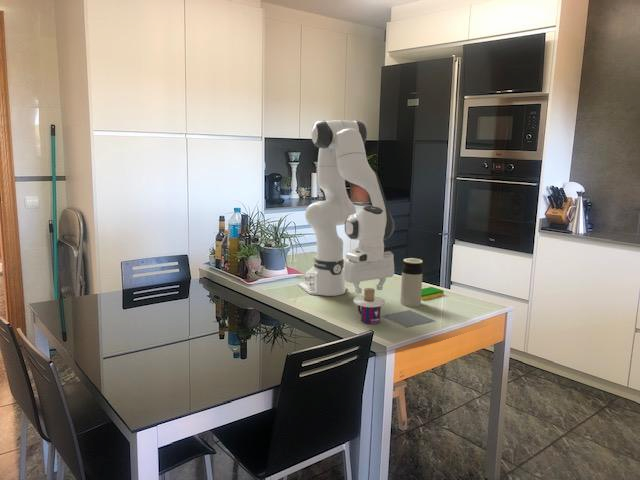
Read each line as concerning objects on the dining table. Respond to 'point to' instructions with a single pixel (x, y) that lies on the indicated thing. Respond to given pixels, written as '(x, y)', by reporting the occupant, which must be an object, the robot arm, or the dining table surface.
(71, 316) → the dining table surface
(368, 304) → the cover lid
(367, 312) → the cup
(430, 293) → the dish sponge
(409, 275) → the travel mug
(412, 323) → the drying mat
